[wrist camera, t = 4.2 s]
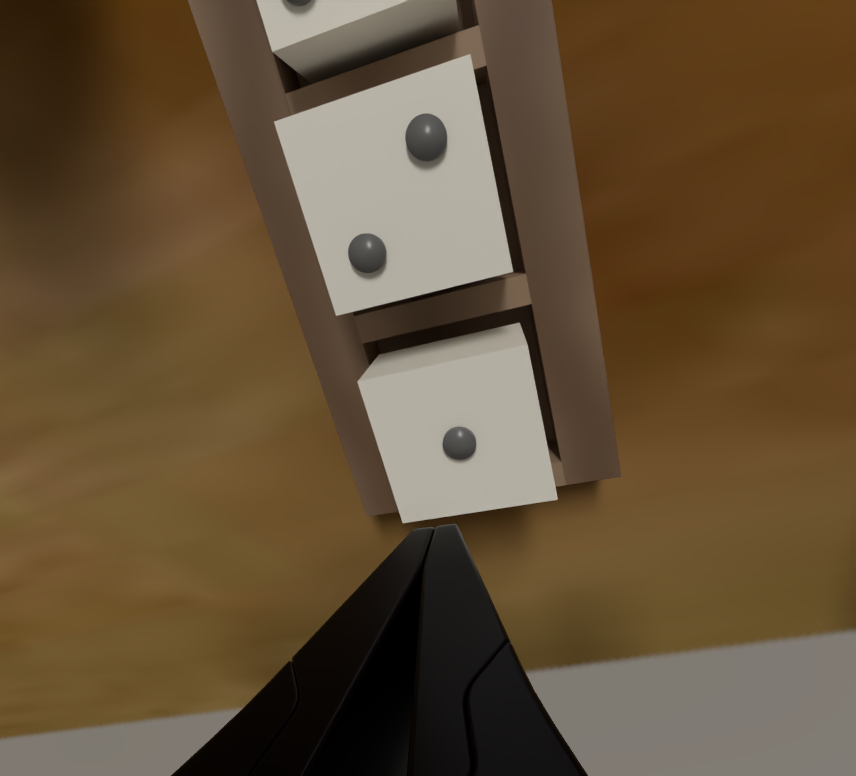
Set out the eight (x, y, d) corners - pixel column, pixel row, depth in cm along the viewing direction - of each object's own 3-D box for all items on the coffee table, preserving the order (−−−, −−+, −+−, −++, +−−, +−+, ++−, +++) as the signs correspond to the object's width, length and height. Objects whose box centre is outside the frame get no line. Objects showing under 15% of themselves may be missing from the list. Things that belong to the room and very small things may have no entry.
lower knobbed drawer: (519, 322, 15) (528, 346, 12) (545, 453, 17) (559, 503, 14) (379, 354, 16) (355, 383, 13) (415, 476, 18) (401, 526, 15)
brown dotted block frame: (496, -260, 13) (498, -364, 10) (605, 446, 19) (620, 476, 17) (182, -113, 15) (127, -174, 12) (379, 485, 21) (367, 516, 19)
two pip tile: (473, 89, 13) (470, 51, 10) (507, 262, 15) (513, 272, 12) (315, 141, 14) (270, 120, 11) (362, 299, 16) (333, 317, 13)
